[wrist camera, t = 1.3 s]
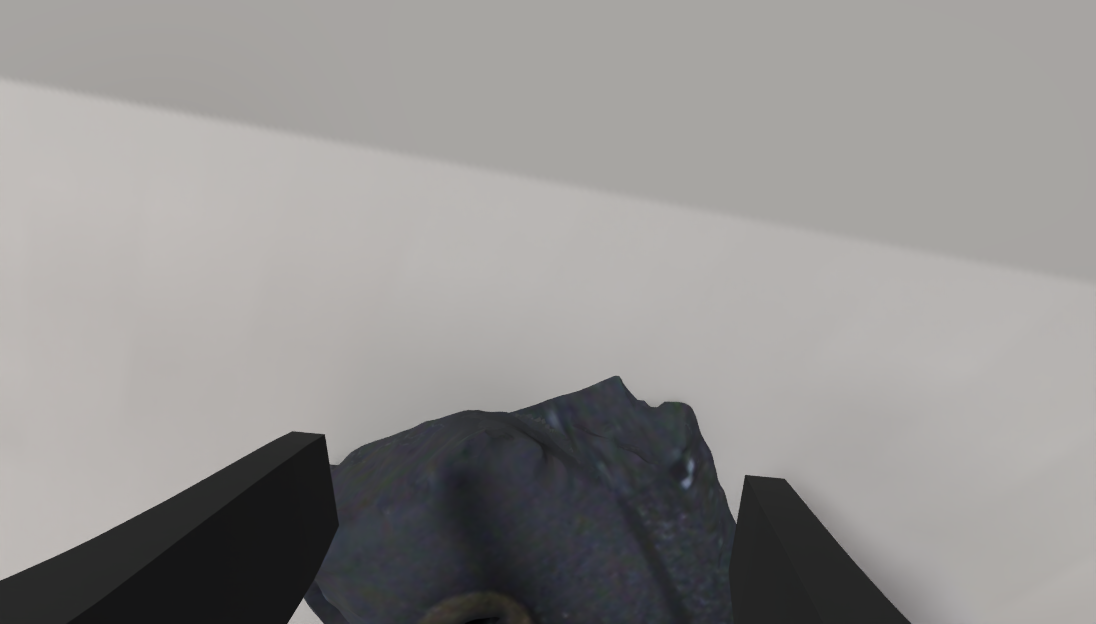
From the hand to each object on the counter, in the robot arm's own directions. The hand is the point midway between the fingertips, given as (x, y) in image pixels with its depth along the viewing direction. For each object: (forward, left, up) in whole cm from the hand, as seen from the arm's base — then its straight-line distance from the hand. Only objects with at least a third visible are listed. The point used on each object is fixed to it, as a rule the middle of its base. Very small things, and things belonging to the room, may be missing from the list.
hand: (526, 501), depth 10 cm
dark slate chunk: (0, +13, -8) cm, 15 cm away
